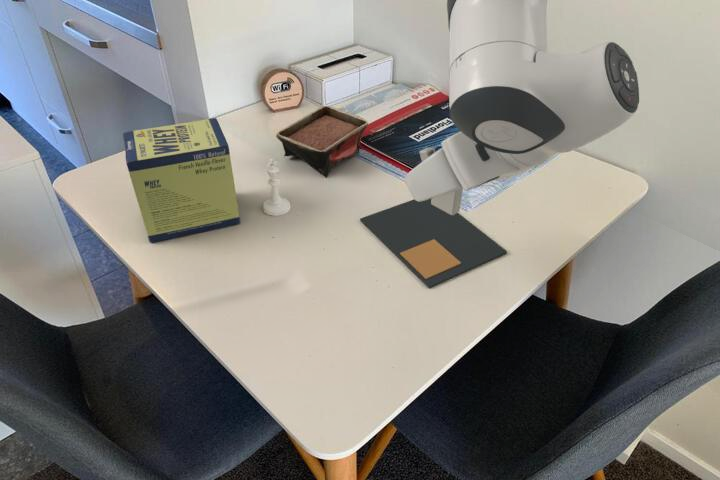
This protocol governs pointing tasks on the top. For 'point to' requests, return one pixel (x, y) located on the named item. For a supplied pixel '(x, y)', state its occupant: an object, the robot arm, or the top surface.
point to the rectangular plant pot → (323, 137)
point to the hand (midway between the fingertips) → (437, 176)
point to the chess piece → (275, 194)
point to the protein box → (182, 178)
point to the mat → (432, 240)
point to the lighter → (449, 200)
